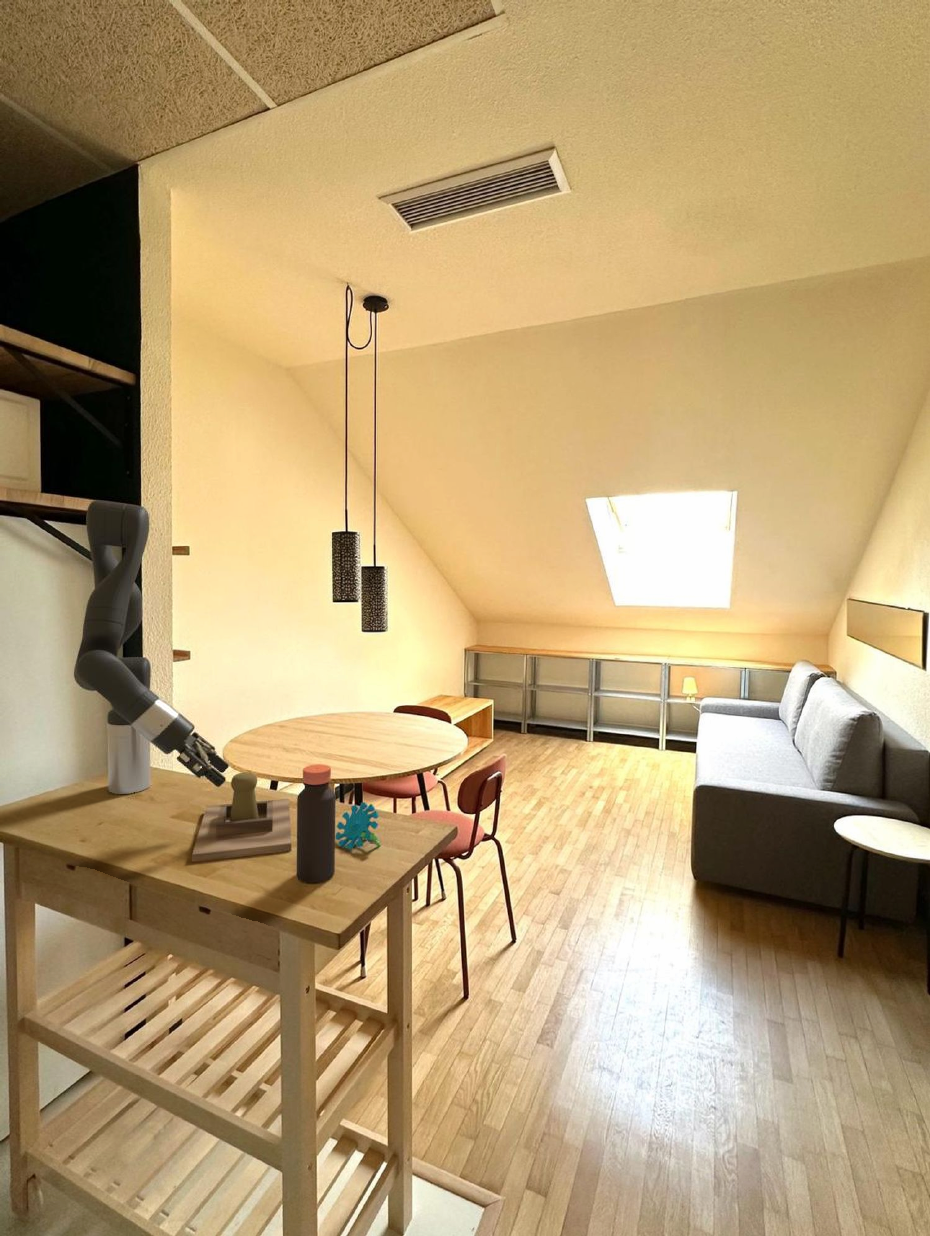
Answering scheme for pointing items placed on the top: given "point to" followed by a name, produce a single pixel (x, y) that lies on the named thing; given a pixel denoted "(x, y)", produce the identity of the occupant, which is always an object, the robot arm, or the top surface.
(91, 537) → the robot arm
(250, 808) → the cork
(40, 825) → the top surface
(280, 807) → the jig board
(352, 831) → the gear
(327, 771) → the bottle
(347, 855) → the top surface
